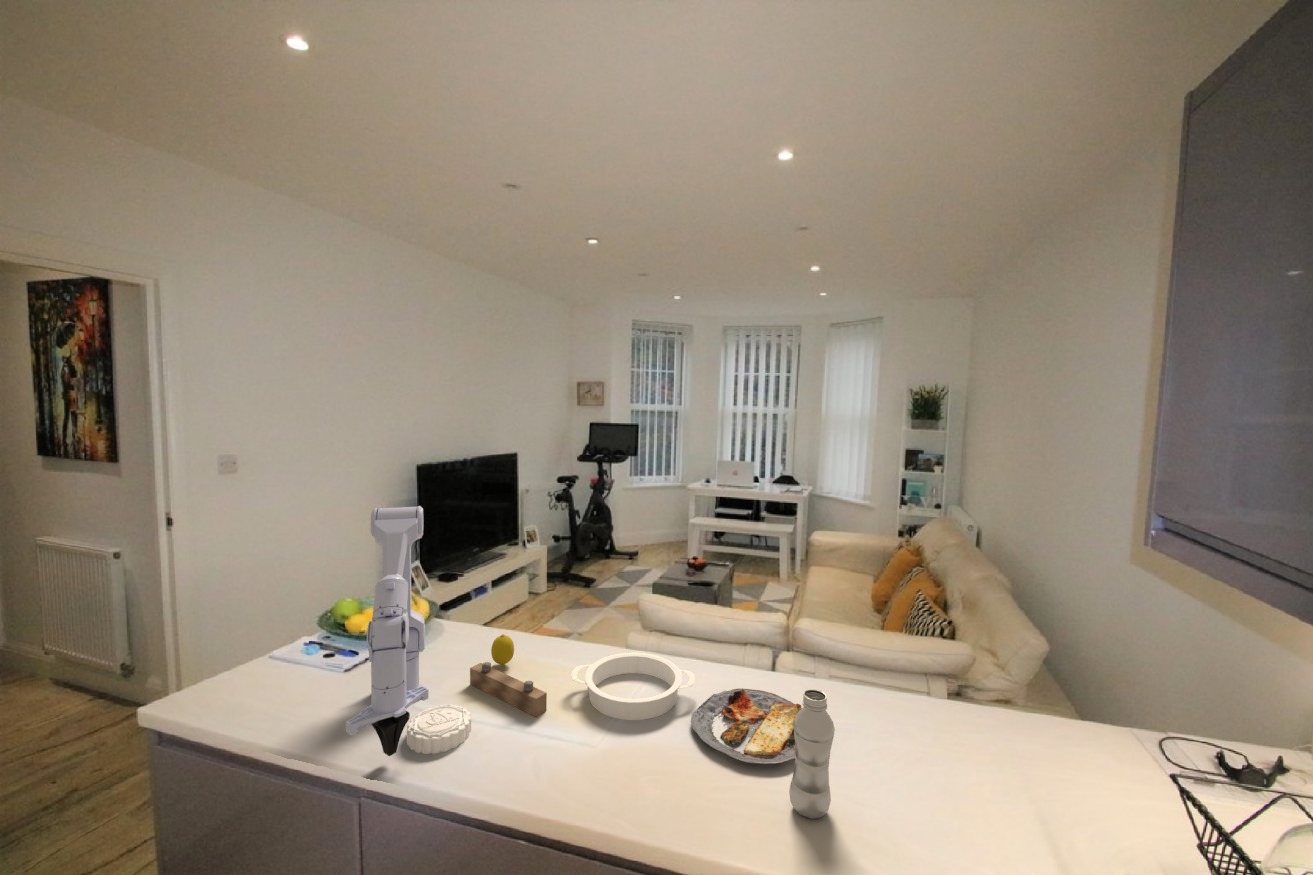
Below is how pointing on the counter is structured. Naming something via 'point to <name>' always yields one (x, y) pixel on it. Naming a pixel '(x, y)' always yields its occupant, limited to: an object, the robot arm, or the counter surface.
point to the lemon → (502, 649)
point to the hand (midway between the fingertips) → (389, 752)
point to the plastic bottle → (812, 756)
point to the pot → (633, 664)
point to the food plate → (750, 724)
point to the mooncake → (438, 729)
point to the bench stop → (509, 689)
